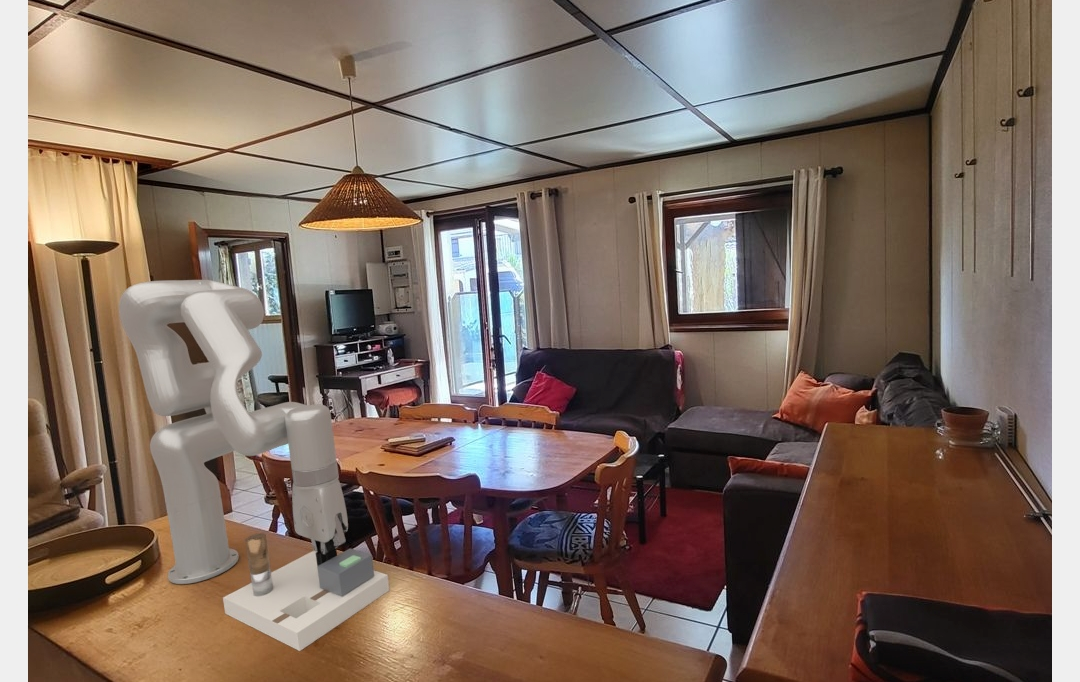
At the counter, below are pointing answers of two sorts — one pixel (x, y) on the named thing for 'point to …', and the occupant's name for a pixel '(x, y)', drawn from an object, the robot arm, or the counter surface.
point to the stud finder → (345, 571)
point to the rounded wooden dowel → (259, 564)
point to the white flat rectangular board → (301, 603)
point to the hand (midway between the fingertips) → (328, 570)
